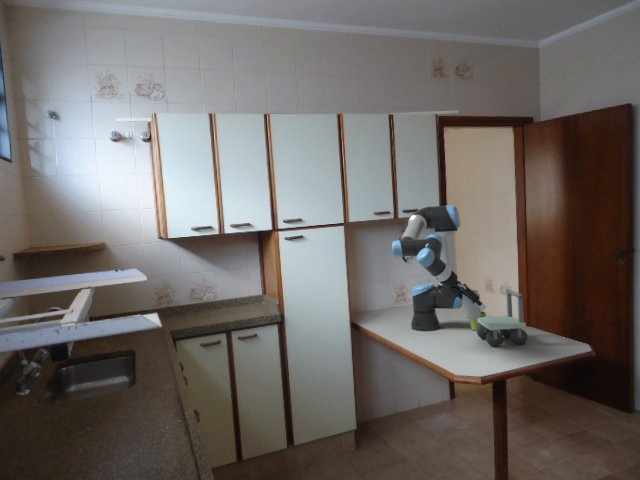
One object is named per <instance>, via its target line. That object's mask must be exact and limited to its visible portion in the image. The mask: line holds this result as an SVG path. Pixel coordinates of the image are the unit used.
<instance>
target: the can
mask: <svg viewBox="0 0 640 480" xmlns="http://www.w3.org/2000/svg"><path fill="white" fill-rule="evenodd" d="M471 290H472V291H473V292H474V293H475V294H476V295H478V296H479V297H480V298H479V300H480V301H481V295H480V293H479V290H477V289H471ZM462 300H463V305H462V314H463V317H464V318H465V319H477V318H479V317H480V316H481V310H480V309H479V308H478V307H477V306H476V305H475V304H473V301H472V300H470V299H469V298H468V297H466V296H465V295H464V294H462Z"/></svg>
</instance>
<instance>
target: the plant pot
mask: <svg viewBox="0 0 640 480" xmlns="http://www.w3.org/2000/svg"><path fill="white" fill-rule="evenodd" d="M486 315H487V312H486V311H481V316H480V317H479V318H481V317H487V316H486ZM469 325H470V330H471V331H475V332H477V328H478V327H479V326H480V325H481V324H480V323H478V322H477V319H469Z"/></svg>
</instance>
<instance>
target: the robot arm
mask: <svg viewBox="0 0 640 480" xmlns="http://www.w3.org/2000/svg"><path fill="white" fill-rule="evenodd" d="M459 213H460V212H459V210H458V207H457V206H455V205H454V204H453V205H452V204H451V205H448V204H446V205H437V206H426V207H423V208H420V209H418V210H416V211H415V212H414V213H413V214H412V215H410V217H409V218H408V220H407V227H406V229H405V231H404V233H403V235H402V236H401V238H400V239H398V240H393V242H392V243H391V244H392V245H391V250H392V255H393V256H394V257H396V258H397V257H398V258H399V257H400V258H403V257H404V258H405V257H406V258H407V257H416V260H417V262H418V263H419V264H420V265H421V267H422V268H424V269H425V270H426V271H427V272H428V273H429V274H431V276H433V278H434V280H435V281H438V283H437V286H435V284H434V283H433V282H432V283H431V282H430V283H422V284H418V285H415V286H413V288H412V290H411V291H412V292H411V293H412V294H411V296H412V307H413V310H412V311H413V314H412V318H411V322H410V328H411V329H413V330H415V331H421V332H422V331H424V332H425V331H427V332H428V331H429V332H430V331H435V330H438V329H440V327H441V325H440V320H439V317H438V315H437V313H436V309H450V310H454V309H457V310H459V309H461V308H463V300H462V294H464V295H465V296H466V297H468V298H469V299H470V300H472V301H473V304H475V305H476V306H477V307H478V308H479V309H480V310H481V311H482V312H485V309H486V308H487V306H486V305H485V303H483V302H482V301H481V296H480V297H479V296H478V295H476V294H475V293H474V292H473V291H472V290H473V289H471V288H470V287H469V286H468V285H467V284H466V283H463V284H462V283H461V281H460V280H459V279H458V267H457V250H456V233H457V232H458V229H459V228H460V227H461V219H460V214H459ZM430 229H431V230H432V229H433V230H434V233H431V234H430V235H428V236H427V237H426V238H424V239H420V237H421V234H422V233H423V231H425V230H430ZM479 298H480V300H479Z"/></svg>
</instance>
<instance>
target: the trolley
mask: <svg viewBox="0 0 640 480" xmlns="http://www.w3.org/2000/svg"><path fill="white" fill-rule="evenodd" d="M505 293H506V308H507V315H498V316H497V315H496V316H495V315H493V316H485V317H481V318H477V322H478V323H480V324H481V325H480V326H479V327H478V328H477V331H476V335H477V336H478V337H479V338H480V339H482V340H486V342H487V343H486V344H488V345H489V346H491V347H493V348H498V347H499V346H501V345H502V344H503V341H504V338H506V339H507V338H508V339H510V341H511V342H512V344H513V343H514V344H515V345H517V346H522V345H524V344H525V343H526V342H527V341H528V333H527V331H526V330H523V329H524V328H525V329H526V325H527V323H526V322H525V318H524V316H525V314H524V298H523V297H524V295H523V294H522V293H520V292H518V291H515V290H513V289H509V288H507V289H506V290H505ZM512 296H514V297H516V298H517V310H518V315H517V316H518V318H517V317H515V316H513V301H512ZM498 330H499V331H498Z"/></svg>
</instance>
